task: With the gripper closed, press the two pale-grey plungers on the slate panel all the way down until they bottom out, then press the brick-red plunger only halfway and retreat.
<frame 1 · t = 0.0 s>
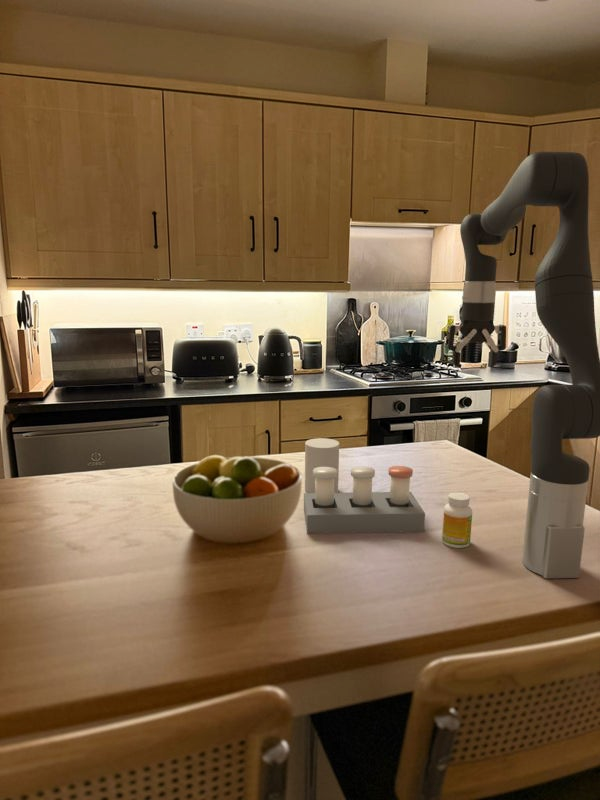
hand: (474, 367, 142), 29 cm above the kitchen island, fingers open, 8 cm apart
mid plunger: (362, 485, 121), point 8 cm above the kitchen island, slide at 0.0 cm
panel: (361, 520, 123), on the kitchen island
far plunger: (324, 486, 121), point 8 cm above the kitchen island, slide at 0.0 cm
red plunger: (399, 485, 121), point 8 cm above the kitchen island, slide at 0.0 cm
supplement bottle: (455, 543, 113), on the kitchen island
white cylinder: (321, 491, 140), on the kitchen island
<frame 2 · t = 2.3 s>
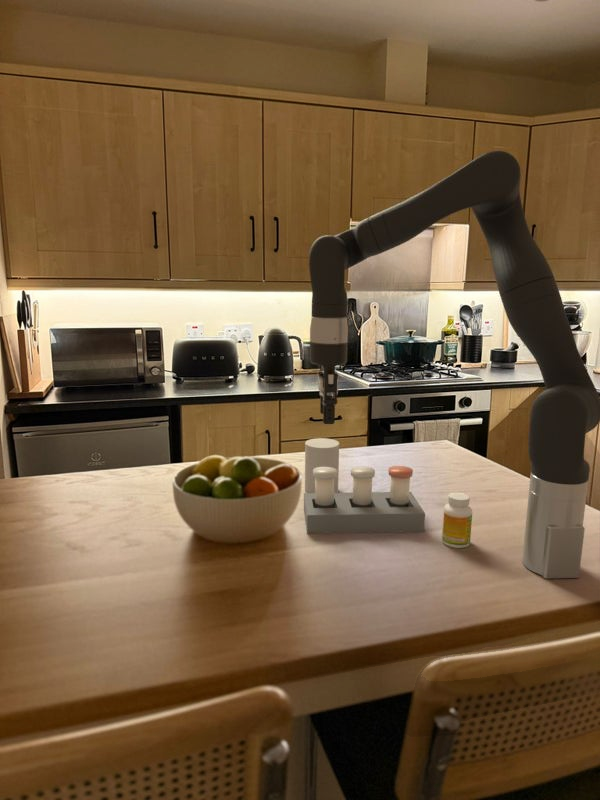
hand: (327, 418, 118), 22 cm above the kitchen island, fingers open, 8 cm apart
nothing on the kitchen island moved.
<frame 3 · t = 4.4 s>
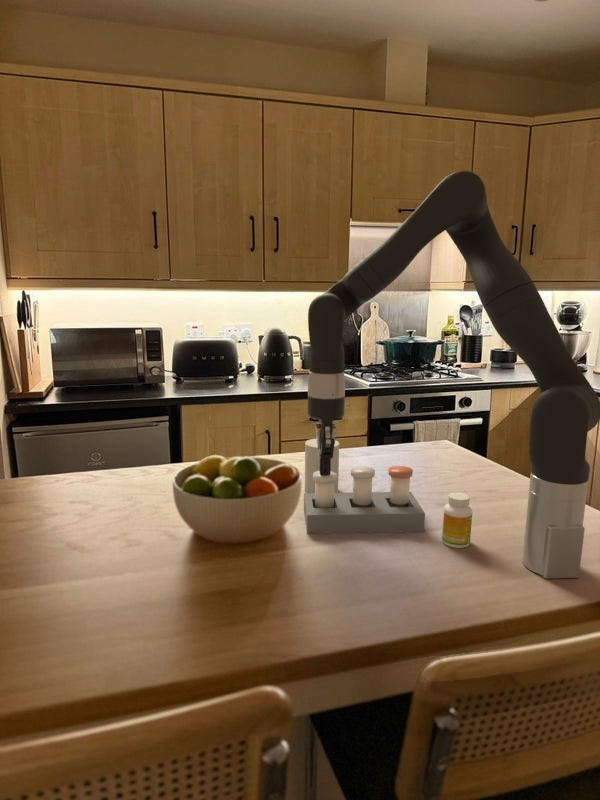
hand: (324, 474, 120), 10 cm above the kitchen island, fingers closed
far plunger: (324, 490, 121), point 7 cm above the kitchen island, slide at 0.9 cm, touching gripper
everything else where it was.
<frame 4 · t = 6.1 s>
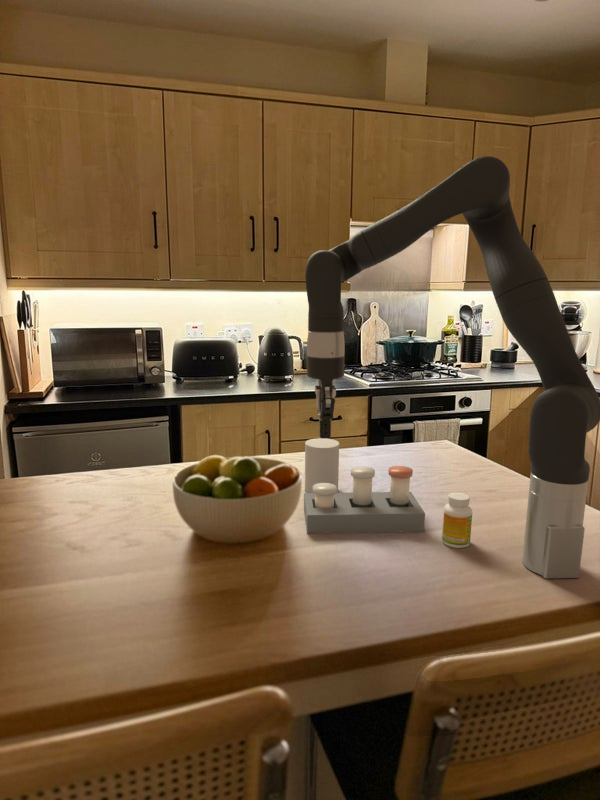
hand: (324, 437, 118), 19 cm above the kitchen island, fingers closed
far plunger: (324, 502, 121), point 4 cm above the kitchen island, slide at 3.6 cm
everything else where it was.
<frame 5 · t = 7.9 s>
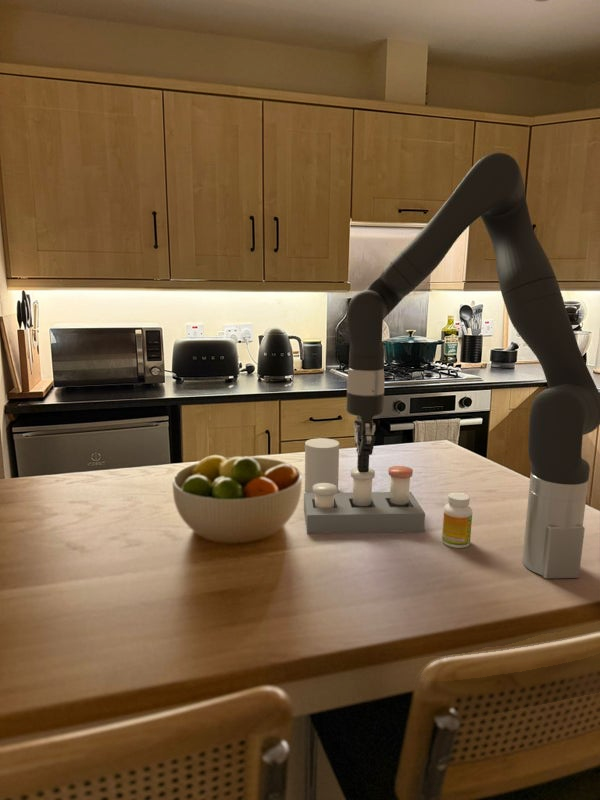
hand: (362, 470, 120), 11 cm above the kitchen island, fingers closed
mid plunger: (362, 486, 121), point 8 cm above the kitchen island, slide at 0.2 cm, touching gripper
everything else where it was.
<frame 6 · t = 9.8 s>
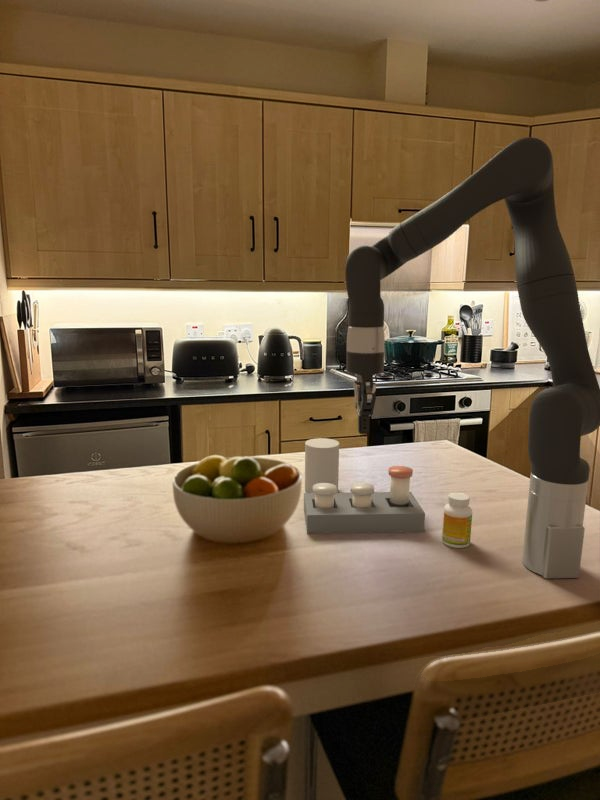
hand: (363, 432, 118), 19 cm above the kitchen island, fingers closed
mid plunger: (361, 502, 122), point 4 cm above the kitchen island, slide at 3.6 cm
everything else where it was.
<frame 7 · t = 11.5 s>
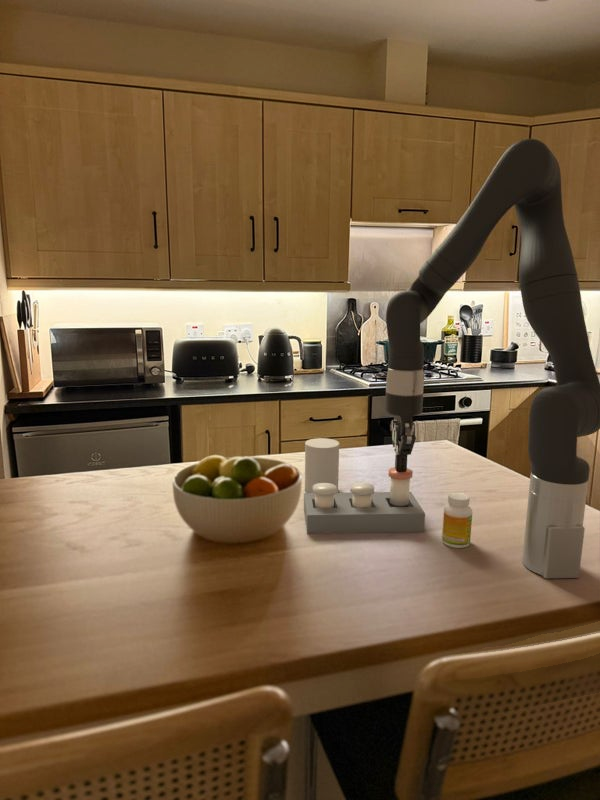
hand: (400, 470, 121), 11 cm above the kitchen island, fingers closed
red plunger: (399, 486, 122), point 8 cm above the kitchen island, slide at 0.3 cm, touching gripper
everything else where it was.
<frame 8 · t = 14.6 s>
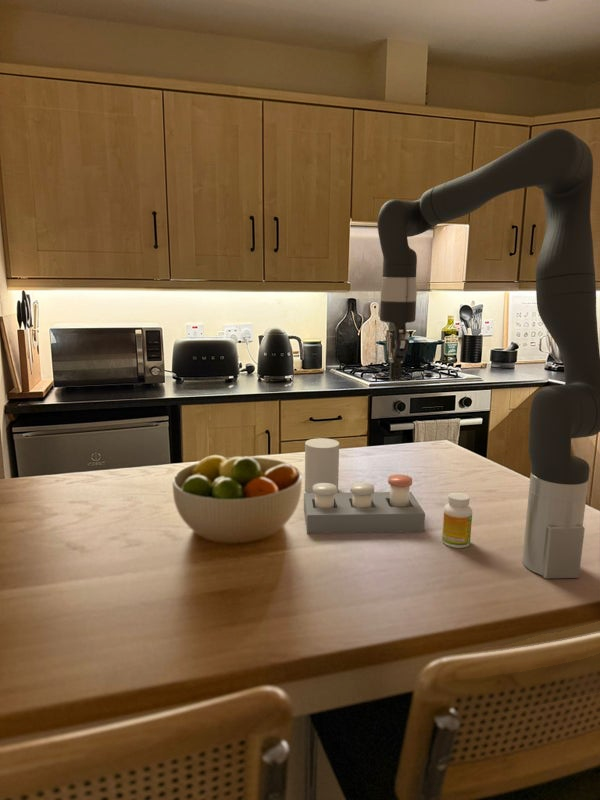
hand: (395, 379, 126), 29 cm above the kitchen island, fingers closed
red plunger: (399, 494, 122), point 6 cm above the kitchen island, slide at 2.0 cm
everything else where it was.
at the end: far plunger slide at 3.6 cm; mid plunger slide at 3.6 cm; red plunger slide at 2.0 cm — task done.
